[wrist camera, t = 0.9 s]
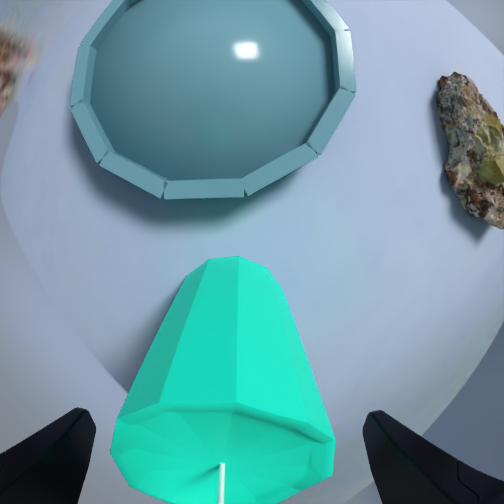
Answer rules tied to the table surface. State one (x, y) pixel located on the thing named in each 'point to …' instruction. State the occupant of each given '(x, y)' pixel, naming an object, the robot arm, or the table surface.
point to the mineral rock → (473, 148)
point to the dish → (211, 91)
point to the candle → (225, 397)
